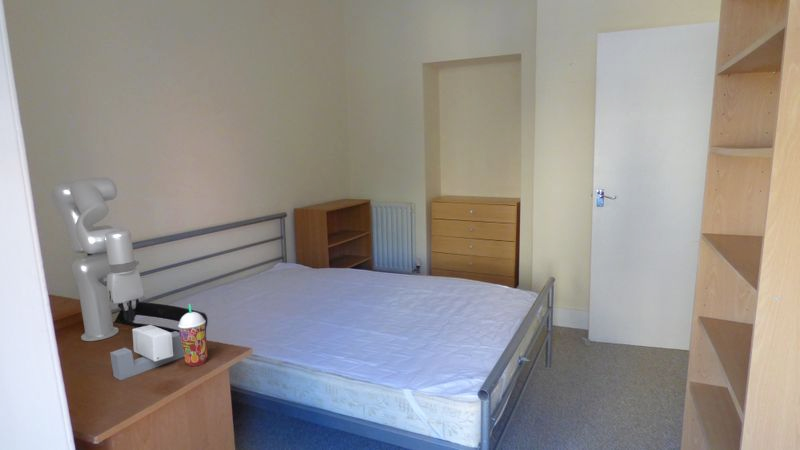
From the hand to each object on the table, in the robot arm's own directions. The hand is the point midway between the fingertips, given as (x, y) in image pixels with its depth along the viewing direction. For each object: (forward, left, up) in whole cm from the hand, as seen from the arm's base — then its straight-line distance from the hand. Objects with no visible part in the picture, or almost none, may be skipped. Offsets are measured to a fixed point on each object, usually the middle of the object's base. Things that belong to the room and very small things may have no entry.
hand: (130, 320), depth 170 cm
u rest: (+11, 0, -14) cm, 17 cm away
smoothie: (+22, +10, -14) cm, 28 cm away
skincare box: (+2, +2, -6) cm, 7 cm away
